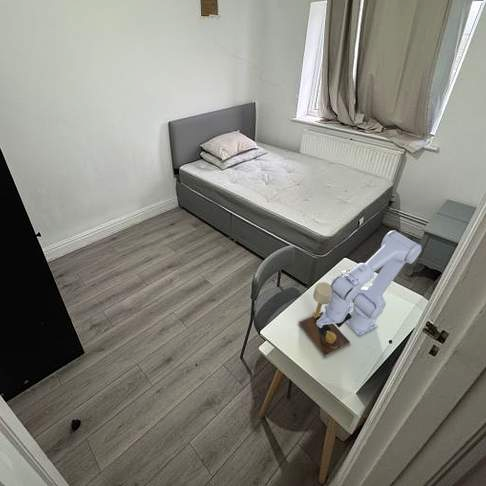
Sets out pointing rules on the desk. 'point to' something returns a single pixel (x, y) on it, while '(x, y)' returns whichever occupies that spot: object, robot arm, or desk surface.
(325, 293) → the lamp
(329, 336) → the lamp switch
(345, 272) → the perfume bottle
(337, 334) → the lamp base
